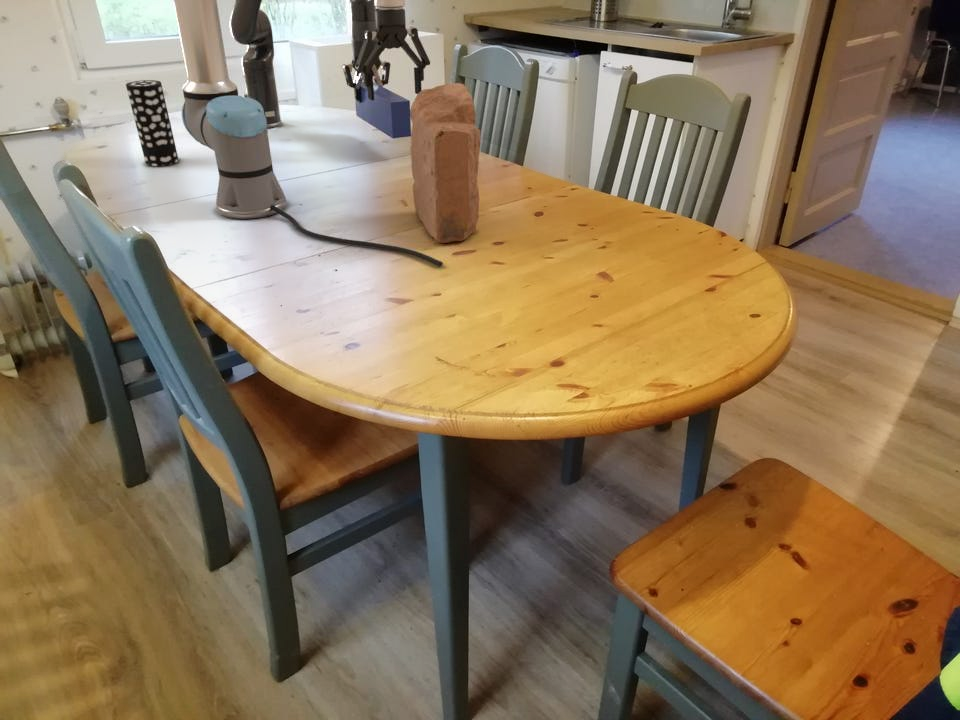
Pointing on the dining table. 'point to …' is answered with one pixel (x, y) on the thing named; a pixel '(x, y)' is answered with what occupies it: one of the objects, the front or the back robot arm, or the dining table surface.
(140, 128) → the black white spotted cylinder
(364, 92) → the bar
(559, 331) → the dining table surface
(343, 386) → the dining table surface
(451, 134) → the stone
